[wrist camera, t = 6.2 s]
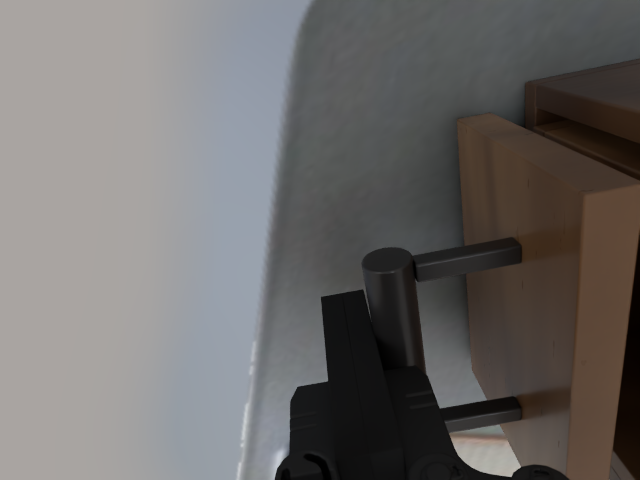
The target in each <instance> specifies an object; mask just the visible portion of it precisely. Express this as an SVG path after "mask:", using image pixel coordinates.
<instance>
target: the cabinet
mask: <svg viewBox="0 0 640 480" xmlns="http://www.w3.org/2000/svg"><path fill="white" fill-rule="evenodd" d="M569 119H570V120H573V121H576V122H579V123H582V124H585V125H587V126H590V127H593V128H596V129H599V130H602V131H605V132H608V133H610V134H613V135H616V136H619V137H622V138H625V139H628V140H631V141H633V142H636V143H639V144H640V59H636V60H631V61H627V62H622V63H617V64H612V65H607V66H602V67H597V68H592V69H587V70H582V71H578V72H573V73H568V74H563V75H558V76H553V77H548V78H543V79H538V80H534V81H529V82H526V84H525V129H527V130H529V131H532V132H533V127H535V126H539V125H544V124H549V123H554V122H559V121H564V120H569ZM609 480H621V478H620V477H619V476H618V474H617V473H616V471H615V470H614V469H613V467H612V466H611V467H610V475H609Z"/></svg>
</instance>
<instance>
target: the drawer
mask: <svg viewBox="0 0 640 480" xmlns="http://www.w3.org/2000/svg"><path fill="white" fill-rule="evenodd" d="M457 132H458V149H459V165H460V182H461V198H462V215H463V231H464V246H461V247H456V248H451V249H446V250H440V251H435V252H430V253H425V254H419V255H414V256H412V255H411V253H410V252H408V251H407V250H405V249H402V248H395V247H388V248H382V249H378V250H375V251H372V252H370V253H369V254H367V255H366V256H365V257H364V258H363V260H362V269H363V275H364V281H365V286H366V292H367V298H368V304H369V309H370V315H371V321H372V327H373V331H374V334H375V338H376V342H377V346H378V350H379V354H380V358H381V362H382V366H383V370H384V371H385V370H391V369H396V368H402V367H408V366H414V365H416V366H417V367H418V368H419V369H420V370H422V371H423V372H424V373H425V374H426V367H425V358H424V350H423V341H422V333H421V324H420V316H419V307H418V299H417V290H416V282H415V278H416V280H417V282H425V281H430V280H436V279H441V278H446V277H452V276H457V275H462V274H466V280H467V297H468V313H469V330H470V346H471V363H472V371H473V373H474V375H475V377H476V379H477V381H478V383H479V385H480V386H481V388H482V390H483V392H484V394H485V396H486V398H487V400H486V401H481V402H475V403H469V404H464V405H458V406H452V407H447V408H441V409H440V411H441V414H442V416H443V419H444V422H445V424H446V427H447V430H448V432H449V433H453V432H458V431H464V430H470V429H476V428H481V427H487V426H493V425H499V424H500V426H501V428H502V430H503V432H504V434H505V436H506V438H507V440H508V442H509V444H510V446H511V448H512V450H513V452H514V454H515V456H516V458H517V460H518V462H519V463H520V465H521V467H522V466H527V465H532V464H537V465H544V466H549V467H551V468H553V469H555V470H558V471H560V472H561V473H562V474H564V475H565V476H566V477H567V478H569V479H570V480H609V475H610V467H611V466H612V467H613V469H614V470H615V471H616V473H617V474H618V476H619V477H620V478H621V480H640V144H639V143H636V142H633V141H631V140H628V139H625V138H622V137H619V136H616V135H613V134H610V133H608V132H605V131H602V130H599V129H596V128H593V127H590V126H587V125H585V124H582V123H579V122H576V121H573V120H570V119H569V120H564V121H559V122H554V123H549V124H544V125H539V126H535V127H533V132H532V131H529V130H527V129H525V128H523V127H521V126H519V125H516V124H514V123H512V122H510V121H508V120H505V119H503V118H501V117H499V116H497V115H494V114H492V113H485V114H481V115H476V116H471V117H466V118H461V119H457Z"/></svg>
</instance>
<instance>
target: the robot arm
mask: <svg viewBox="0 0 640 480" xmlns="http://www.w3.org/2000/svg"><path fill="white" fill-rule="evenodd" d="M321 303H322V315H323V326H324V337H325V349H326V360H327V372H328V382H323V383H317V384H311V385H306V386H300V387H297V389H296V391H295V393H294V395H293V397H292V399H291V401H290V418H291V419H290V455H289V456H288V457H286V458H285V459H284V460H283V461H282V463H281V464H280V466H279V467H278V468H277V472H276V476H275V480H570V479H569V478H567V477H566V476H565V475H564V474H562V473H561V472H560V471H558V470H555V469H553V468H551V467H549V466H544V465H537V464H532V465H527V466H522V467H521V468H520V469H518V470H517V471H515V472H514V473H513V475H512V477H506V476H499V475H492V474H487V473H483V472H480V471H478V470H475V469H473V468H471V467H470V466H469V465H467V464H466V463H465V462H464V461H463V460H462V459H461V458H460V457H459V456H458V454H457V452H456V450H455V449H454V446H453V443H452V441H451V438H450V435H449V432H448V430H447V427H446V424H445V422H444V419H443V416H442V414H441V411H440V408H439V406H438V404H437V400H436V398H435V395H434V393H433V390H432V387H431V384H430V381H429V379H428V376H427V375H426V374H425V373H424V372H423V371H422V370H420V369H419V368H418V367H417V366H416V365H414V366H408V367H402V368H396V369H391V370H385V371H384V370H383V366H382V362H381V358H380V354H379V350H378V346H377V342H376V338H375V334H374V331H373V327H372V322H371V318H370V314H369V310H368V306H367V302H366V298H365V294H364V290H363V289H362V290H357V291H351V292H346V293H340V294H335V295H329V296H324V297H321Z"/></svg>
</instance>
